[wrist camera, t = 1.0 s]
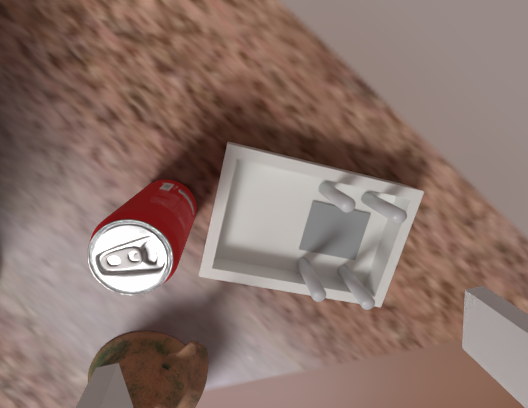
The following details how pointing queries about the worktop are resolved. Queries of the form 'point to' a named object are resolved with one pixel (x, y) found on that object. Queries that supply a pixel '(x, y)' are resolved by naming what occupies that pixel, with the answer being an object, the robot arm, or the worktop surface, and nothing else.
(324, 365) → the worktop surface
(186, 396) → the mug
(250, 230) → the tray
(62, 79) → the worktop surface
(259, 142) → the worktop surface
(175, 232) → the beverage can
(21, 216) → the worktop surface
